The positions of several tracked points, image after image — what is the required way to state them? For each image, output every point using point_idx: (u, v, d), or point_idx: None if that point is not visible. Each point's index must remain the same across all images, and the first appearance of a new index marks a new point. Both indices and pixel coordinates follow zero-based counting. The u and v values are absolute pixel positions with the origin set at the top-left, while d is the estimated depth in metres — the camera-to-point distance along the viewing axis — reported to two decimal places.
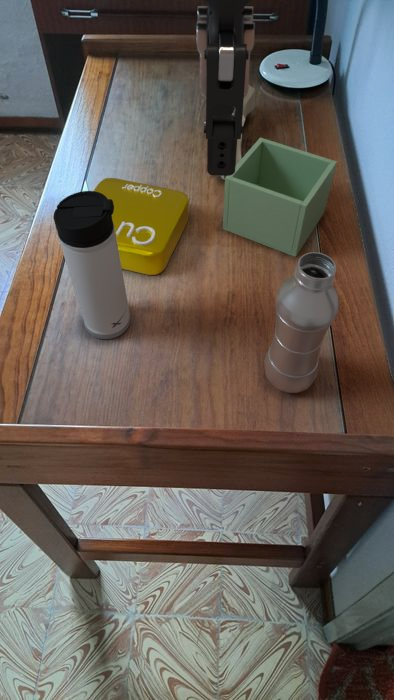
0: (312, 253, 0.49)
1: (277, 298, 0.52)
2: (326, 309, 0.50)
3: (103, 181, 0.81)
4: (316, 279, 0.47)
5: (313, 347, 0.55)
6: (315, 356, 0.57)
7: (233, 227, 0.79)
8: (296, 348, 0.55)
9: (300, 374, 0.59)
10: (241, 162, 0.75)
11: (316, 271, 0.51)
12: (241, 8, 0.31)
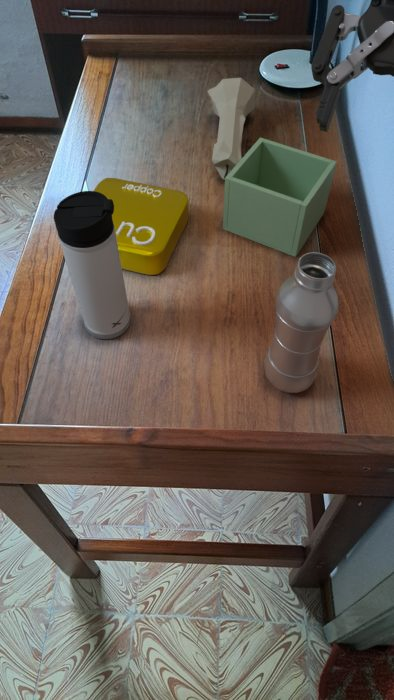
0: (312, 253, 0.49)
1: (277, 298, 0.52)
2: (326, 309, 0.50)
3: (103, 181, 0.81)
4: (316, 279, 0.47)
5: (313, 347, 0.55)
6: (315, 356, 0.57)
7: (233, 227, 0.79)
8: (296, 348, 0.55)
9: (300, 374, 0.59)
10: (241, 162, 0.75)
11: (316, 271, 0.51)
12: (371, 1, 0.46)
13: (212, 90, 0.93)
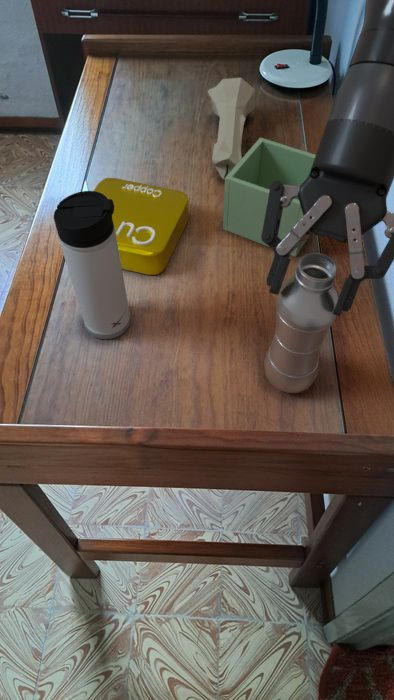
0: (313, 253, 0.49)
1: (277, 298, 0.52)
2: (327, 310, 0.50)
3: (103, 181, 0.81)
4: (317, 280, 0.47)
5: (313, 347, 0.55)
6: (315, 356, 0.57)
7: (233, 227, 0.79)
8: (296, 348, 0.55)
9: (300, 374, 0.59)
10: (241, 162, 0.75)
11: (317, 271, 0.51)
12: (310, 172, 0.48)
13: (212, 90, 0.93)
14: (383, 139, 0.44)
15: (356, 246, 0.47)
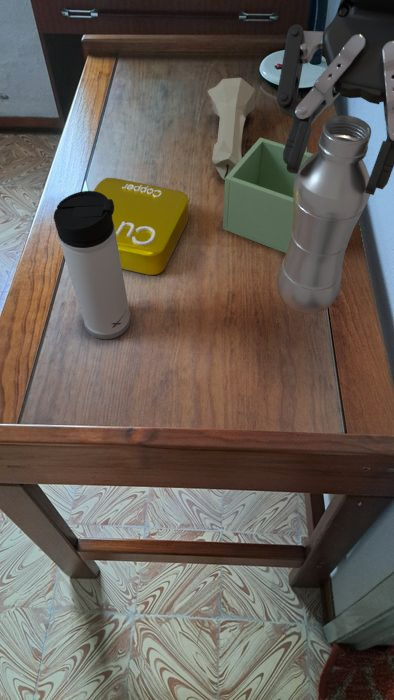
0: (340, 116, 0.40)
1: (296, 181, 0.43)
2: (357, 188, 0.41)
3: (103, 181, 0.81)
4: (347, 142, 0.38)
5: (338, 247, 0.46)
6: (339, 262, 0.48)
7: (233, 227, 0.79)
8: (318, 248, 0.46)
9: (321, 286, 0.50)
10: (241, 162, 0.75)
11: None
12: (338, 10, 0.39)
13: (212, 90, 0.93)
14: None
15: None
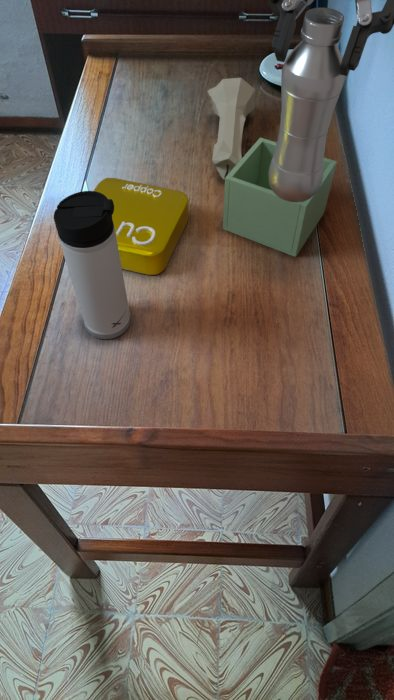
0: (319, 8, 0.48)
1: (283, 69, 0.52)
2: (333, 70, 0.49)
3: (103, 181, 0.81)
4: (324, 25, 0.46)
5: (319, 130, 0.54)
6: (321, 148, 0.57)
7: (233, 227, 0.79)
8: (302, 131, 0.54)
9: (305, 171, 0.58)
10: (241, 162, 0.75)
11: None
12: None
13: (212, 90, 0.93)
14: None
15: None
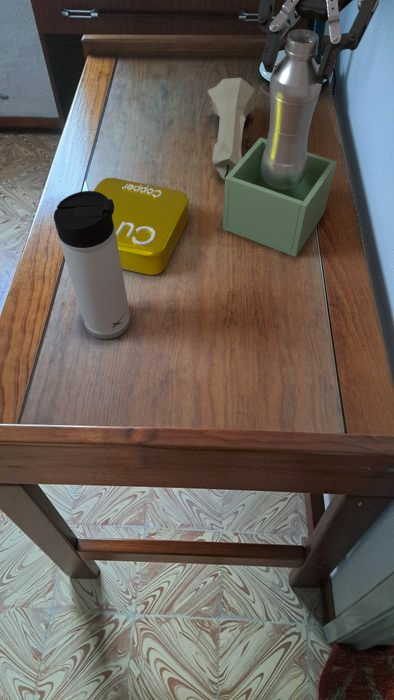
0: (299, 30, 0.60)
1: (271, 78, 0.63)
2: (311, 79, 0.61)
3: (103, 181, 0.81)
4: (302, 44, 0.58)
5: (301, 128, 0.66)
6: (303, 143, 0.68)
7: (233, 227, 0.79)
8: (287, 129, 0.66)
9: (291, 162, 0.70)
10: (241, 162, 0.75)
11: None
12: None
13: (212, 90, 0.93)
14: None
15: (334, 14, 0.58)
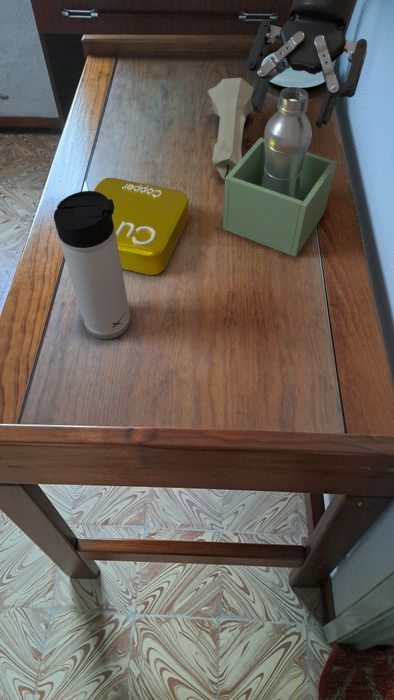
0: (291, 88, 0.66)
1: (265, 129, 0.69)
2: (302, 132, 0.67)
3: (103, 181, 0.81)
4: (293, 102, 0.64)
5: (293, 173, 0.72)
6: (295, 186, 0.74)
7: (233, 227, 0.79)
8: (280, 174, 0.72)
9: None
10: (241, 162, 0.75)
11: None
12: (289, 16, 0.64)
13: (212, 90, 0.93)
14: None
15: (328, 67, 0.62)
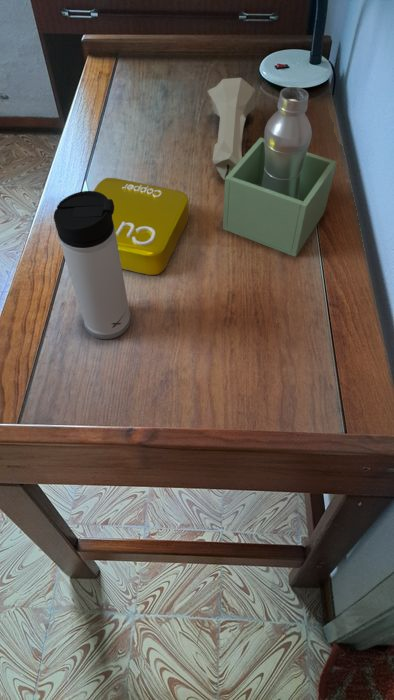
0: (291, 87, 0.66)
1: (265, 129, 0.69)
2: (301, 132, 0.67)
3: (103, 181, 0.81)
4: (293, 102, 0.64)
5: (293, 173, 0.72)
6: (295, 186, 0.74)
7: (233, 227, 0.79)
8: (280, 174, 0.72)
9: None
10: (241, 162, 0.75)
11: None
12: None
13: (212, 90, 0.93)
14: None
15: None
